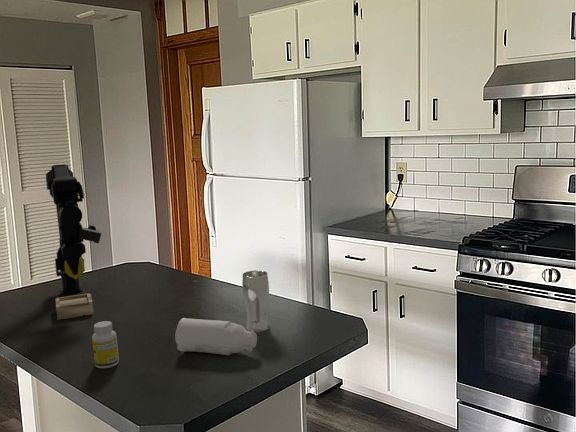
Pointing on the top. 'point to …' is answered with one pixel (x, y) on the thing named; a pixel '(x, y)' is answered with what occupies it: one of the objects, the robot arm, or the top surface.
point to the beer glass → (256, 299)
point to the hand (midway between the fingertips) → (74, 272)
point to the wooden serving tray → (74, 306)
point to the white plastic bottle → (213, 336)
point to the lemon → (80, 269)
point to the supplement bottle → (105, 345)
